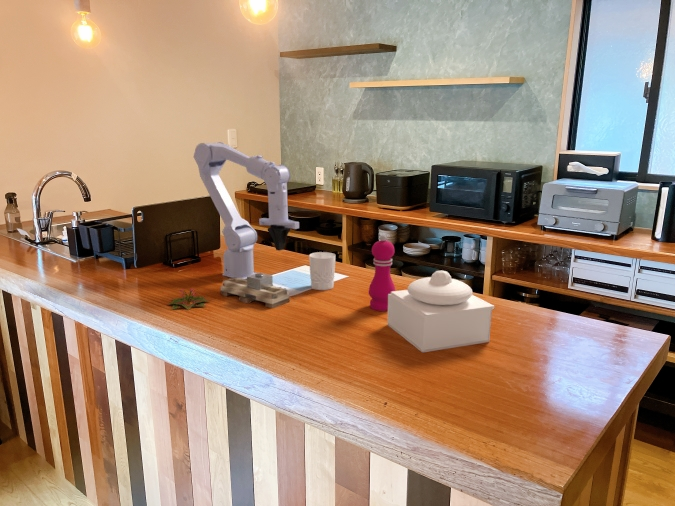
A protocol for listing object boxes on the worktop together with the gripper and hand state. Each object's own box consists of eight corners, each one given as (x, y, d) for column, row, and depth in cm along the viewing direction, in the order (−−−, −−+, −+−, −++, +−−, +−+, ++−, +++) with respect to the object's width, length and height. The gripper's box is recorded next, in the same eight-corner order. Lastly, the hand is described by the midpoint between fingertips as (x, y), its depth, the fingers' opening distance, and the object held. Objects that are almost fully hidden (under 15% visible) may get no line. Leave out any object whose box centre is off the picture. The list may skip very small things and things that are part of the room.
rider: (247, 291, 149) (246, 275, 148) (259, 287, 153) (259, 271, 152) (260, 294, 146) (259, 278, 145) (272, 290, 150) (272, 274, 149)
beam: (218, 295, 154) (217, 282, 153) (241, 287, 161) (240, 275, 160) (269, 309, 142) (269, 295, 142) (291, 300, 150) (291, 287, 149)
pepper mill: (393, 312, 141) (396, 238, 136) (366, 310, 142) (367, 237, 137) (396, 303, 148) (398, 232, 143) (370, 302, 149) (371, 231, 144)
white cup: (336, 283, 166) (336, 252, 163) (333, 291, 158) (334, 258, 156) (311, 282, 167) (311, 251, 164) (307, 290, 159) (307, 257, 157)
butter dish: (387, 325, 132) (389, 263, 128) (450, 317, 138) (453, 257, 135) (422, 353, 116) (425, 283, 112) (491, 342, 122) (496, 275, 119)
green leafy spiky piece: (211, 310, 143) (210, 294, 142) (164, 314, 140) (163, 297, 139) (210, 296, 154) (209, 281, 153) (166, 299, 151) (165, 284, 150)
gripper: (251, 205, 162) (253, 249, 165) (287, 209, 154) (289, 255, 157) (267, 203, 168) (269, 245, 171) (303, 206, 160) (304, 250, 163)
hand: (279, 249), depth 164 cm, fingers closed
